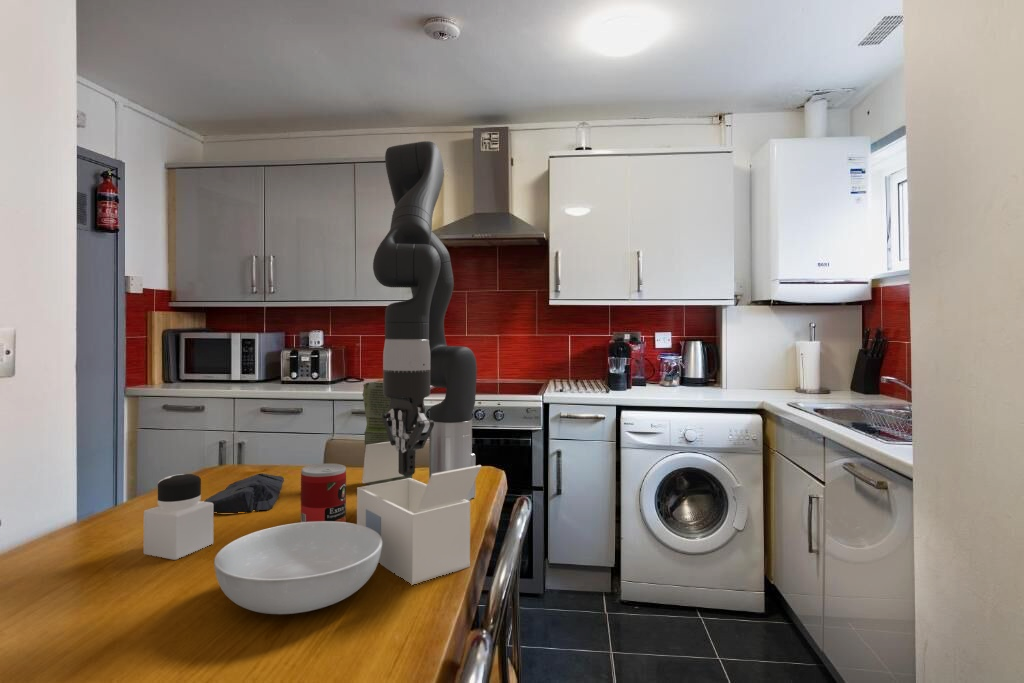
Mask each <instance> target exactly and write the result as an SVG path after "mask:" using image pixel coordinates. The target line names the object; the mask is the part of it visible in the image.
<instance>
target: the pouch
mask: <svg viewBox="0 0 1024 683" xmlns="http://www.w3.org/2000/svg"><path fill="white" fill-rule="evenodd" d="M362 400H363V404H364V412H365V420H366V427H365V431H364V450H365V449H366V445H368V444H375V443H383V442H390V440H389V437H388V434H387V431H386V428H385V425H384V422H383V419H382V415H383V414H384V413H388V412H389V411H390V407H389V406H390V401H391V398H387V397H385V396H384V395H383V382H380V381H369V382H366V383H364V384H363V391H362ZM416 452H417V451H416ZM416 452H415V455H416ZM407 478H412V479H413V475H408V476H401V477H396V478H390V479H385V480H379V481H374V482H368V483H365V484H366V485H365V486H369V485H375V484H380V483H386V482H391V481H396V480H402V479H407Z"/></svg>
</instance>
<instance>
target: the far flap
mask: <svg viewBox="0 0 1024 683" xmlns="http://www.w3.org/2000/svg"><path fill="white" fill-rule="evenodd" d="M363 460H364V461H363V470H362V479H361V483H362V484H366V483H368V482H374V481H379V480H385V479H390V478H396V477H401V476H404V475H401V474H399V472H398V469H399V451H397V450H396V446H395V445H393V446H392V445H391V443H390V442H383V443H375V444H368V445H366V449H365V448H364V459H363Z"/></svg>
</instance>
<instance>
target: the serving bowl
mask: <svg viewBox="0 0 1024 683" xmlns="http://www.w3.org/2000/svg"><path fill="white" fill-rule="evenodd" d="M381 550H382V538H381V536H380V535H379V534H378V533H377V532H376V531H374V530H372V529H370V528H368V527H365V526H362V525H358V524H357V523H353V522H352V523H351V522H335V521H315V522H301V521H300V522H294V523H288V524H281V525H277V526H273V527H269V528H265V529H261V530H257V531H254V532H251V533H248V534H246V535H244V536H241V537H238V538H237V539H234V540H233V541H231V542H229V543H228V544H226V545H225V546H224V547H222V548H221V549H220V550H219V551H218V552H217V553H216V555H215V556H214V560H213V561H214V562H213V566H214V570H215V571H214V572H215V576H216V580H217V583H218V585H219V586H220V589H221V591H222V593H224V595H225V596H226V597H227V598H228V599H229V600H231V602H233V603H235V604H236V605H238V607H239V606H240V607H241V608H243V609H245V610H249V611H251V612H255V613H260V614H268V615H290V614H291V615H293V614H299V613H306V612H307V613H308V612H311V611H315V610H319V609H323V608H326V607H328V606H332V605H334V604H337V603H339V602H341V601H343V600H345V599H347V598H349V597H350V596H352V595H353V594H355V593H356V592H358V590H361V588H362V587H363V586H364V585H365V584H366V583H368V581H369V580H370V578H371V577H372V576H373V575H374V572H376V569H377V567H378V564H379V563H378V562H379V559H380V555H381Z"/></svg>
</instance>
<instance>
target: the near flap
mask: <svg viewBox="0 0 1024 683" xmlns="http://www.w3.org/2000/svg"><path fill="white" fill-rule="evenodd" d="M481 468H482V465H481V464H478V465H475V466H472V467H466V468H461V469H456V470H450V471H445V472H439V473H434V474H431V476H430V479H429V478H428V481H427V483H426V484H427V486H426V488H425V491H424V493H423V496H422V498H421V500H420V503H419V505H418V508H417V509H418V510H420V509H425V508H429V507H433V506H437V505H442V504H446V503H450V502H455V501H459V500H463V499H467V496H468V494H469V492H470V490H471V488H472V486H473V484H474V481H475V482H476V479H477V477H478V475H479V473H480V470H481Z"/></svg>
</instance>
